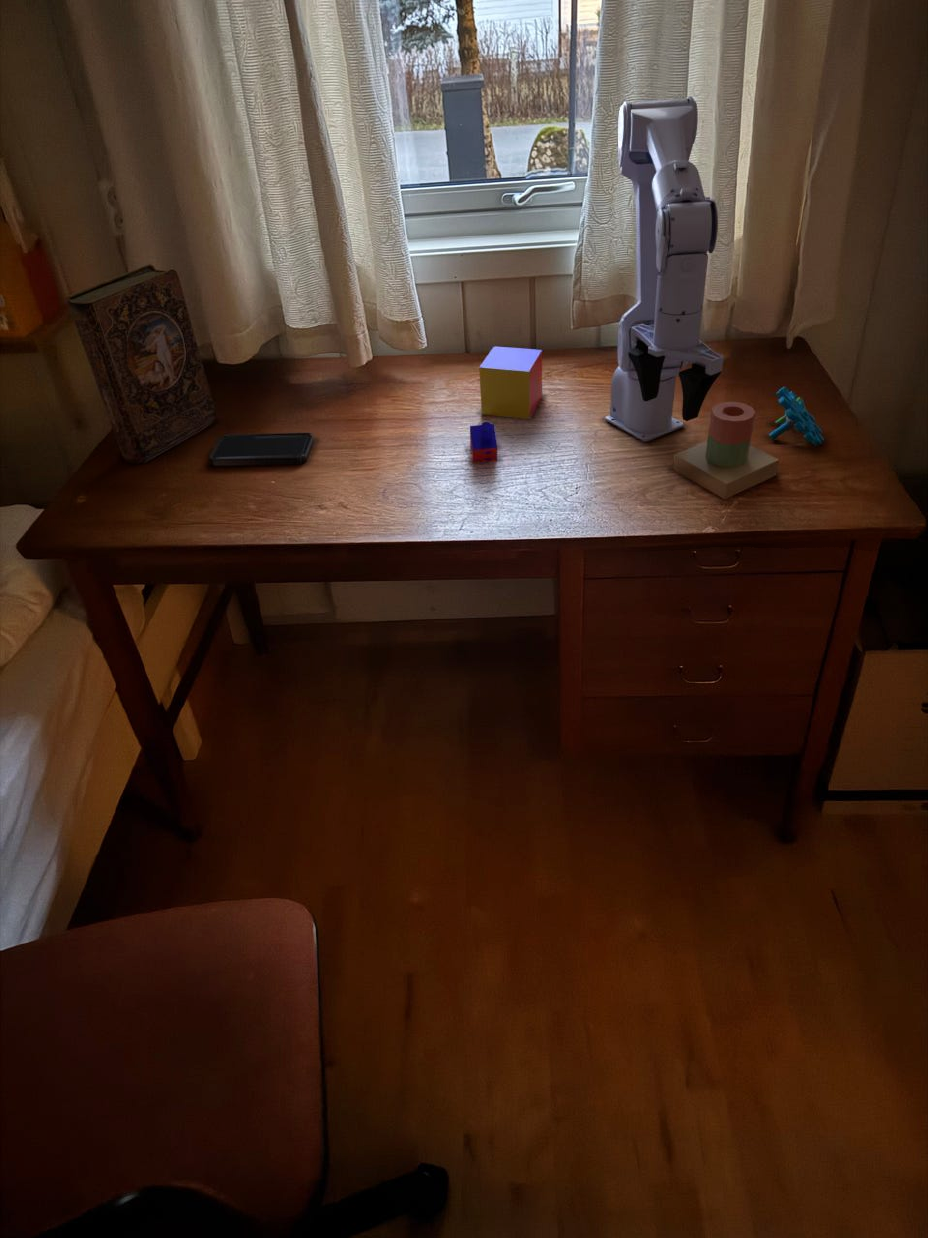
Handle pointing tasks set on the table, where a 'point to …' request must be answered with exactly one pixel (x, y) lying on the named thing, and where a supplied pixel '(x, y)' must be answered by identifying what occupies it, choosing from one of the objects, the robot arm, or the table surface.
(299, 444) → the phone
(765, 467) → the birch block
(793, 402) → the gear
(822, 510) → the table surface
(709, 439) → the green ring
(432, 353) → the table surface
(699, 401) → the robot arm
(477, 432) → the toy building block
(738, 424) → the coral ring
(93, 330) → the book
